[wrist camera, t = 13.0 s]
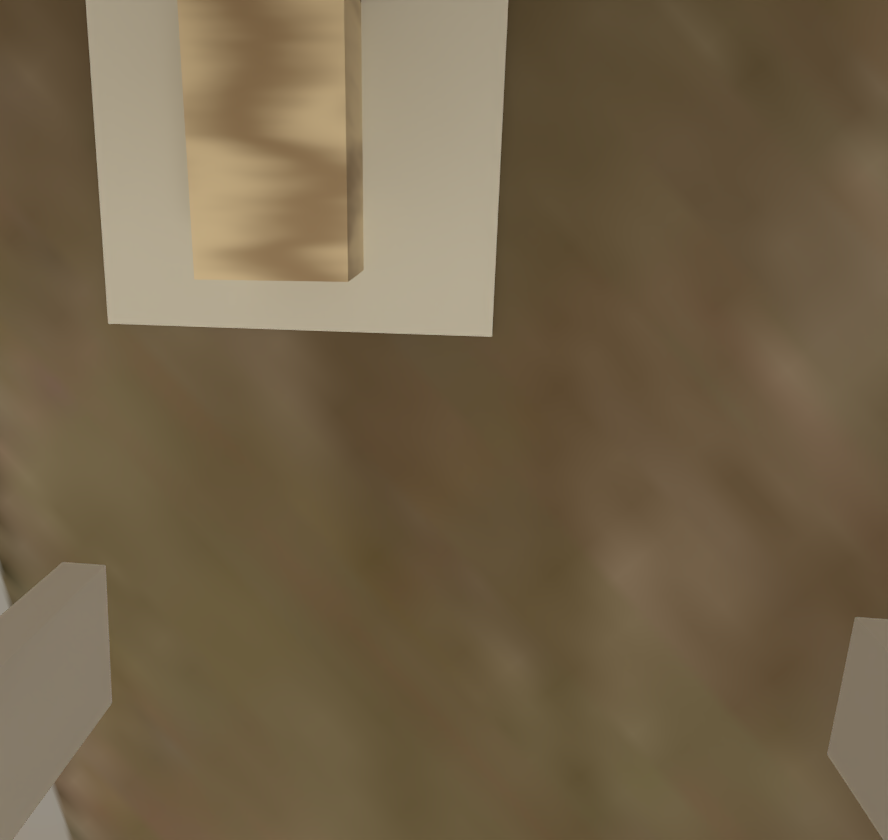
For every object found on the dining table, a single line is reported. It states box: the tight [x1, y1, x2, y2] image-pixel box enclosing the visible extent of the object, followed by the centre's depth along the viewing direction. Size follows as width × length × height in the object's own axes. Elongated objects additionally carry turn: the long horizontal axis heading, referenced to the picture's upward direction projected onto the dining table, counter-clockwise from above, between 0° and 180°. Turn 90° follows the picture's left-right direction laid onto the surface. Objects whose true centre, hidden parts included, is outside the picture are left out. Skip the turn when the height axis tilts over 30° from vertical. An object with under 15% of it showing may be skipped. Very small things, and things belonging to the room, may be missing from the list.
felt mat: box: [86, 0, 508, 337], centre depth 37 cm, size 18×16×1 cm
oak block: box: [177, 0, 364, 282], centre depth 33 cm, size 6×6×12 cm
